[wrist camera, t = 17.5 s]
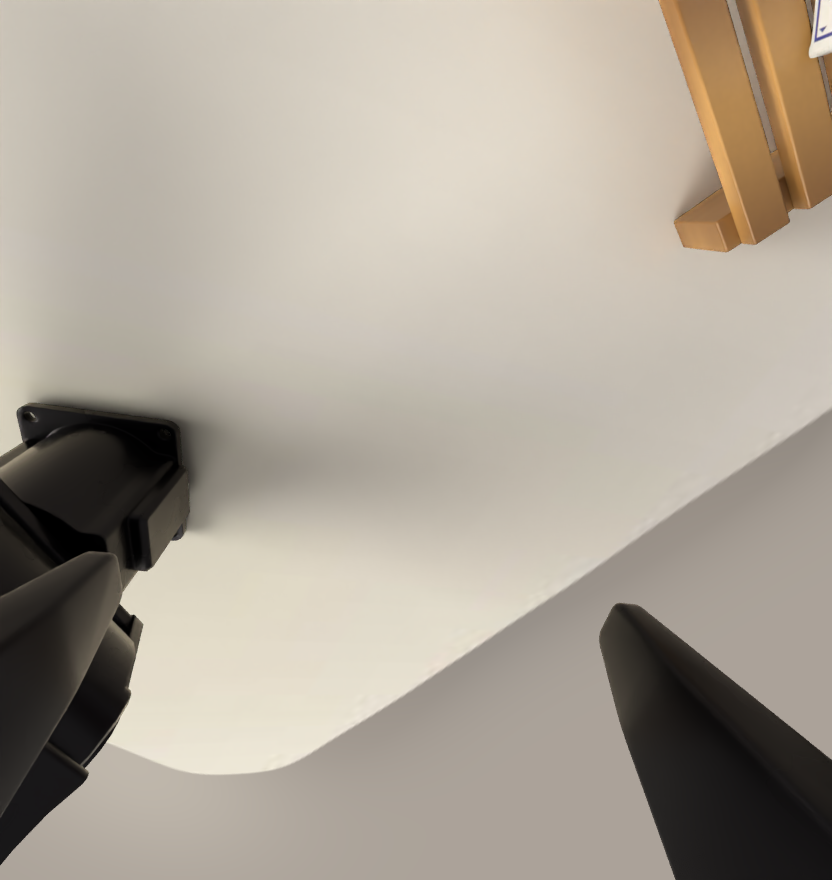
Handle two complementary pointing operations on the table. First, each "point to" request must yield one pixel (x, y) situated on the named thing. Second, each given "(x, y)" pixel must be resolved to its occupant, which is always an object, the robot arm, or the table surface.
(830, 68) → the dish rack
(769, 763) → the robot arm
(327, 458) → the table surface
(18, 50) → the table surface
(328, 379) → the table surface
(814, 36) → the medicine box
